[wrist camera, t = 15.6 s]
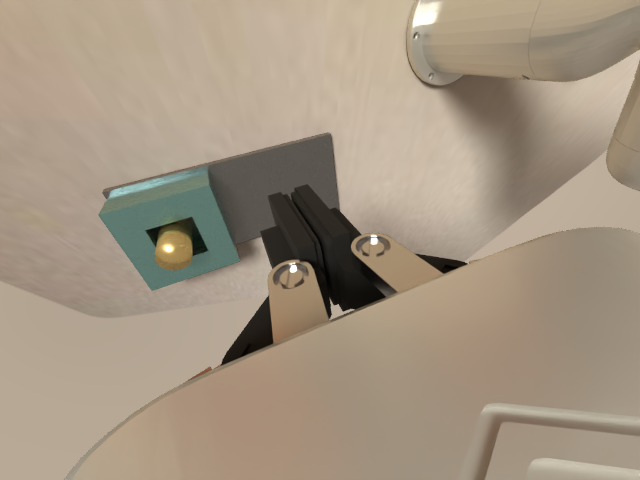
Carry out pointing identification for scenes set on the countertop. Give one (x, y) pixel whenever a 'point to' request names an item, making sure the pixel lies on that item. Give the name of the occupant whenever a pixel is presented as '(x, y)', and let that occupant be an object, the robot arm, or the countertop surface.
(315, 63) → the countertop surface
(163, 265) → the gold rounded cylinder
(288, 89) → the countertop surface
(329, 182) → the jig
